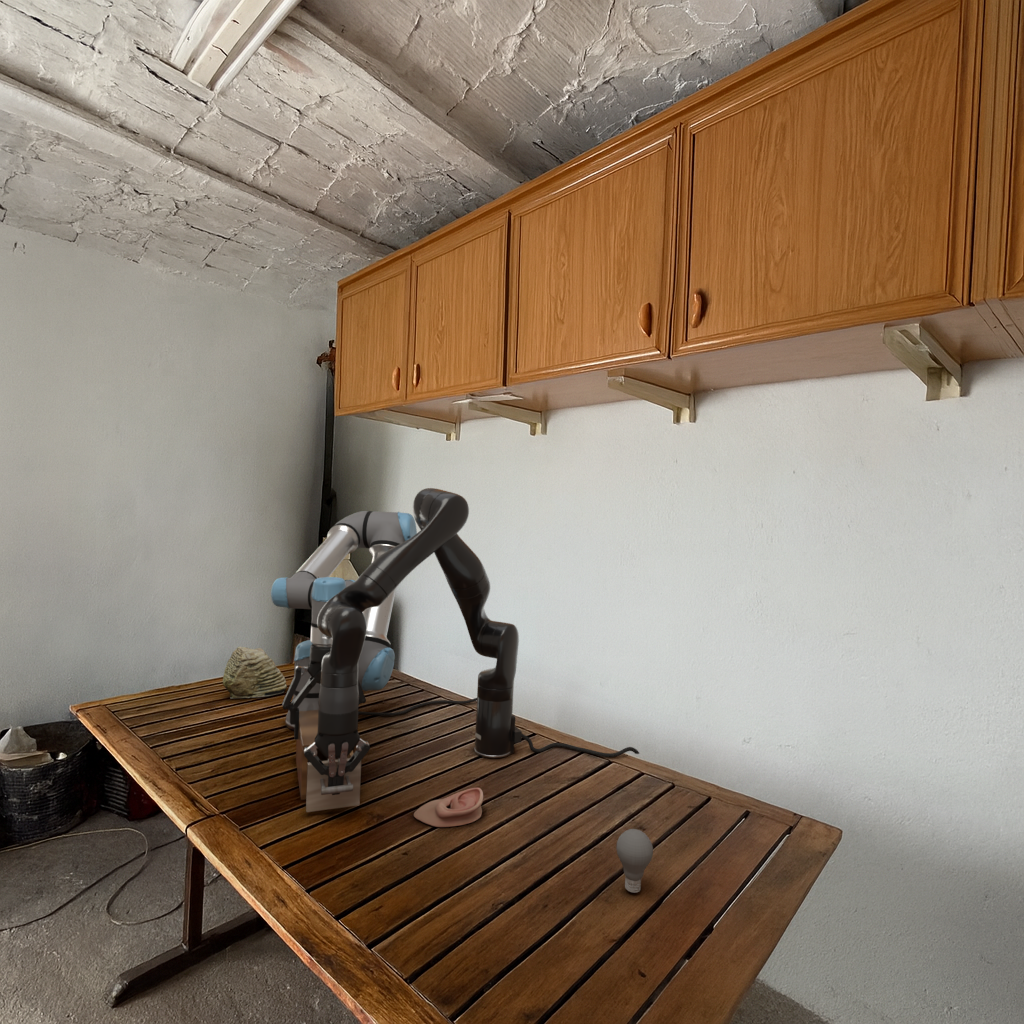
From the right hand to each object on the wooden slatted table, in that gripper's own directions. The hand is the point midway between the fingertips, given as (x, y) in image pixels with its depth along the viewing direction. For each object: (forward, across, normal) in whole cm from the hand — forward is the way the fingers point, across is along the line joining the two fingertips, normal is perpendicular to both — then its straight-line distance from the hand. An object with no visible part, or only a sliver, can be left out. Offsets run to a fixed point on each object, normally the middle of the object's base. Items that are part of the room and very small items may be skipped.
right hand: (335, 792), depth 124 cm
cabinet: (+6, 0, +22) cm, 22 cm away
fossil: (+7, -16, +86) cm, 87 cm away
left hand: (-1, 0, +28) cm, 28 cm away
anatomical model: (+6, +22, -4) cm, 23 cm away
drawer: (+5, 0, +10) cm, 12 cm away
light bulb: (+5, +45, -37) cm, 58 cm away
